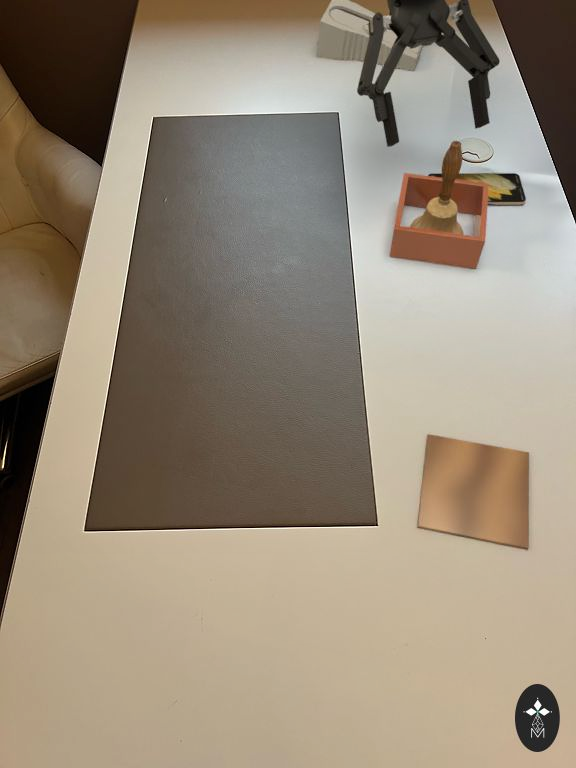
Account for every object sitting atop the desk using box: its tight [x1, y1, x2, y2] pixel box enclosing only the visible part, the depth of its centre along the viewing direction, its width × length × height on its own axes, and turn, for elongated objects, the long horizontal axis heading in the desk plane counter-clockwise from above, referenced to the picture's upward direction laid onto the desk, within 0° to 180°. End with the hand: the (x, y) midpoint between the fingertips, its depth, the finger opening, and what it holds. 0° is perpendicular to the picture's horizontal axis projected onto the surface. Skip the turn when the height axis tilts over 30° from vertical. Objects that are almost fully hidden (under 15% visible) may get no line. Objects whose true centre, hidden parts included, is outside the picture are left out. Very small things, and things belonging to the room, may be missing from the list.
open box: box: [389, 172, 489, 270], centre depth 94 cm, size 13×13×6 cm
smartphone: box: [427, 172, 527, 205], centre depth 101 cm, size 7×1×15 cm
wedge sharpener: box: [315, 0, 423, 72], centre depth 124 cm, size 11×20×7 cm, turn 73°
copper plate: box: [417, 433, 530, 550], centre depth 72 cm, size 12×12×1 cm
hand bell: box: [409, 140, 464, 235], centre depth 90 cm, size 8×8×16 cm
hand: (438, 135), depth 87 cm, fingers open, 13 cm apart
